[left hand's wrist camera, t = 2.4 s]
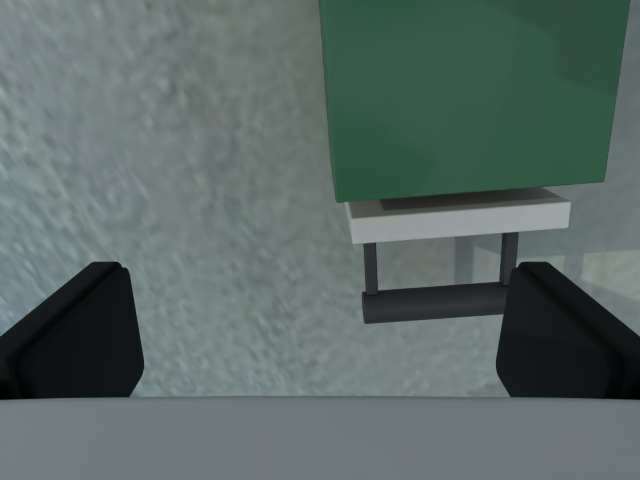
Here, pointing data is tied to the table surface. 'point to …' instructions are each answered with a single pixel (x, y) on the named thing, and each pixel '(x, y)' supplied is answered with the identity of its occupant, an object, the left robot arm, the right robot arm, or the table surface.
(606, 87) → the cabinet
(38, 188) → the table surface
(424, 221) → the drawer
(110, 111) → the table surface
